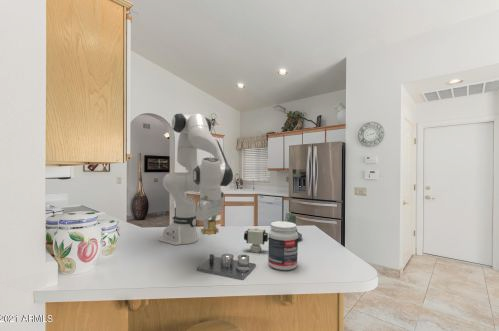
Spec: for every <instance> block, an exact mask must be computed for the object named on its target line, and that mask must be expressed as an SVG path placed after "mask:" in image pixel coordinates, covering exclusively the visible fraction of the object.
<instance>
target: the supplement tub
mask: <svg viewBox="0 0 499 331" xmlns="http://www.w3.org/2000/svg"><path fill="white" fill-rule="evenodd" d="M284 221H285V220H284ZM284 221H280V220H278V221H272V222H271V223H270V230H269V232H268V238H269V240H268V249H267V250H268V251H267V252H268V257H267V260H268V261H267V262H268V265H269V266H270V267H271V268H273V269H276V270H281V271H289V270H293V269H295V268H297V266H298V248H299V239H298V233H299V232H298V233H297V232H296V229H297V230H298V228H297V223H296V224H294V223H291V222H284Z"/></svg>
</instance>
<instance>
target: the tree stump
mask: <svg viewBox="0 0 499 331" xmlns="http://www.w3.org/2000/svg"><path fill="white" fill-rule="evenodd" d="M296 218H297V217H296V215H295V214H292V213H289V212H286V213H285V218H284V222H291V223H294V224H296V225H297V222H296V221H297V220H296ZM298 231H299V230H298V228H297V229H296V232H297V233H298V240H300V239H301V238H303V233H300V232H298ZM268 241H269V237H268Z"/></svg>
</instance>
